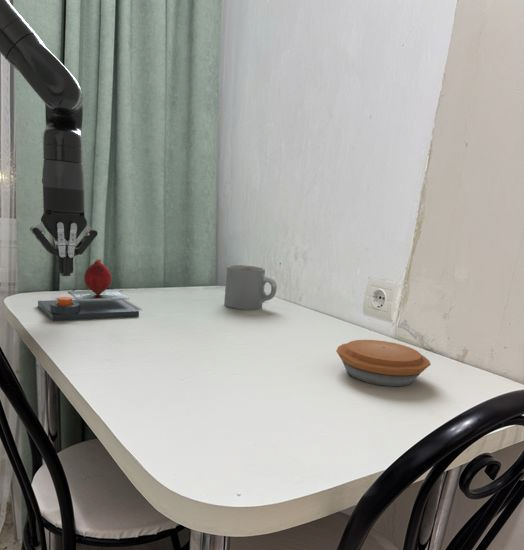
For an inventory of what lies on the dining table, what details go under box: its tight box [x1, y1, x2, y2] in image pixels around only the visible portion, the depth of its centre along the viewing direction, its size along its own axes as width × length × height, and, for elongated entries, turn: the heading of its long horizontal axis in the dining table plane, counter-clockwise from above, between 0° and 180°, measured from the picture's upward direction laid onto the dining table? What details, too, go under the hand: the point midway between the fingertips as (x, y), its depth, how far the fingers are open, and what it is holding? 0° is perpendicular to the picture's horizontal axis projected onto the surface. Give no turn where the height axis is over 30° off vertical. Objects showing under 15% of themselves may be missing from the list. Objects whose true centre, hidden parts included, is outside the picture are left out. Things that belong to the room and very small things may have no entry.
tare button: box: [56, 296, 73, 306], centre depth 104 cm, size 3×3×2 cm
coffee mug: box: [223, 264, 277, 311], centre depth 132 cm, size 13×10×10 cm
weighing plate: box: [67, 289, 130, 301], centre depth 114 cm, size 11×9×1 cm
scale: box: [37, 299, 140, 322], centre depth 111 cm, size 18×14×3 cm
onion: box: [83, 258, 113, 294], centre depth 113 cm, size 6×6×8 cm
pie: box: [335, 339, 431, 387], centre depth 86 cm, size 16×16×5 cm
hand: (65, 275), depth 103 cm, fingers closed
